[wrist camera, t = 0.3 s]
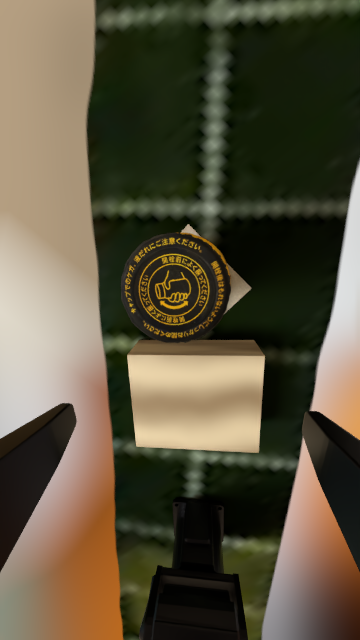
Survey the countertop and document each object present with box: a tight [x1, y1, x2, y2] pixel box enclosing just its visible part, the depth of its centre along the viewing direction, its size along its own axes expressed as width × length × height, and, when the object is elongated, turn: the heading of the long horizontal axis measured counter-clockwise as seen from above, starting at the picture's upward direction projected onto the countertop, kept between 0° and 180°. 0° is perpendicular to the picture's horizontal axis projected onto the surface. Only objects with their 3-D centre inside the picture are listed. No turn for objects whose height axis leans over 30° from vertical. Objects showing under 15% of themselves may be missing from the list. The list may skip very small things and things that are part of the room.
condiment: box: [121, 224, 251, 343], centre depth 16 cm, size 7×8×12 cm
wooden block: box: [127, 340, 265, 453], centre depth 22 cm, size 10×12×4 cm
